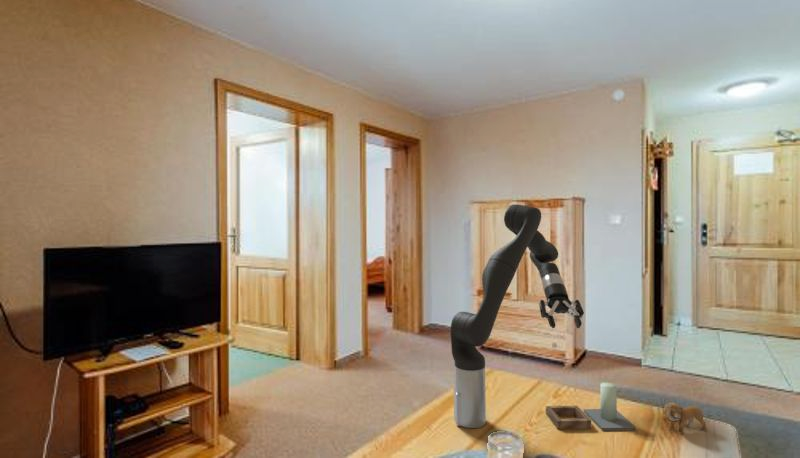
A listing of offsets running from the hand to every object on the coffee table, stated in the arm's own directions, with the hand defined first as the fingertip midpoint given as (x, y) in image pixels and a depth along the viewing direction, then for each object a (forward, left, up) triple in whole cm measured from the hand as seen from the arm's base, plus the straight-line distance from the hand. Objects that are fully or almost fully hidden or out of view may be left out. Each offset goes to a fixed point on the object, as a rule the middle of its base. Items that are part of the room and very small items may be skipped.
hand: (566, 327), depth 142 cm
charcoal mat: (+6, -16, -25) cm, 30 cm away
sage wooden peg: (+6, -16, -24) cm, 29 cm away
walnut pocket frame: (-6, -16, -25) cm, 30 cm away
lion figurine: (+25, -23, -25) cm, 42 cm away
